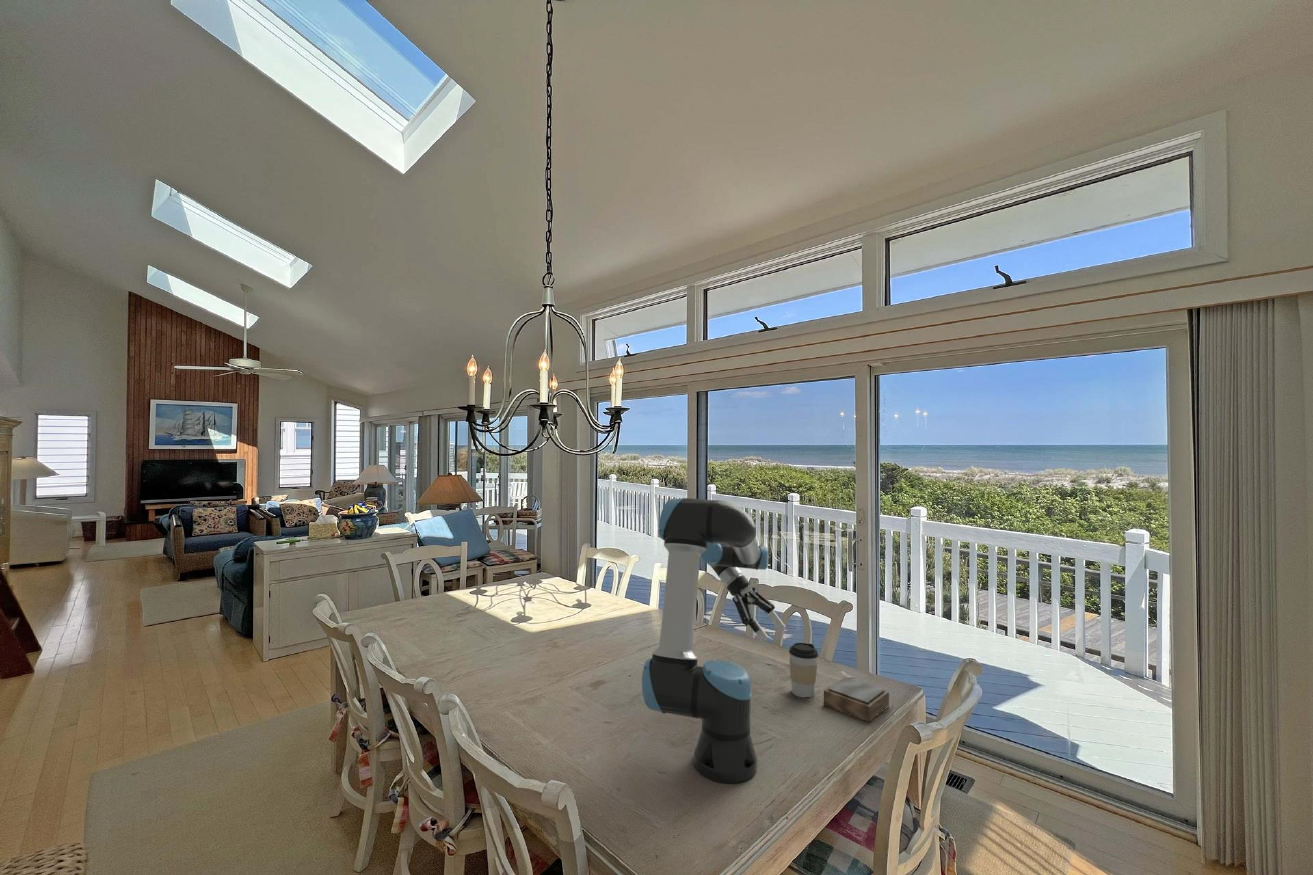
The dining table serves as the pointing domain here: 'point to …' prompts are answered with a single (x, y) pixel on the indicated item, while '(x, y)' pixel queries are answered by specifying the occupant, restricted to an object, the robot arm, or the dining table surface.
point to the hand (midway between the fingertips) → (774, 634)
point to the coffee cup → (803, 669)
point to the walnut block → (856, 698)
